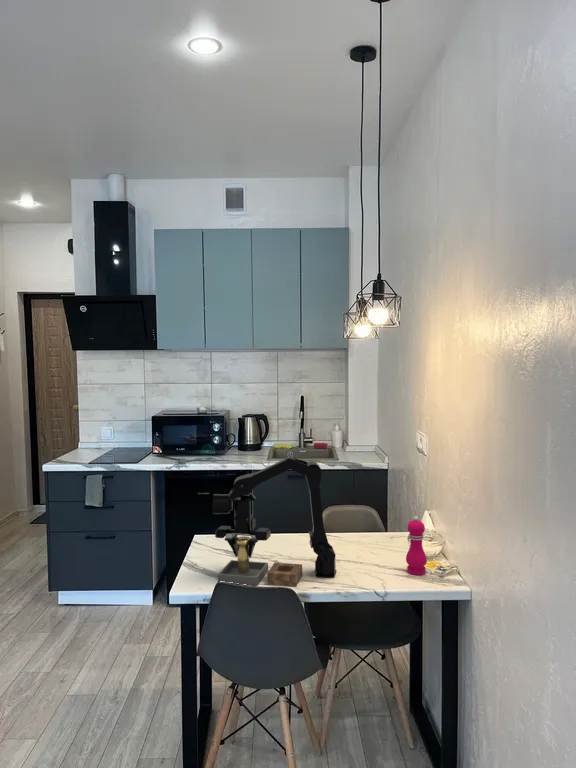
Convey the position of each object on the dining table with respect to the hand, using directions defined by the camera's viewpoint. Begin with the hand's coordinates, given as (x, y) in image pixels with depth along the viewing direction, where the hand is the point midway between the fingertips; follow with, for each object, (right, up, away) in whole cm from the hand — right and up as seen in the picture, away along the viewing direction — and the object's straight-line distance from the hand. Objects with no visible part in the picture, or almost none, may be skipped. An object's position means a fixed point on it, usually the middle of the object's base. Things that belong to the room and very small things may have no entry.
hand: (243, 557), depth 193 cm
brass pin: (0, -5, 0) cm, 5 cm away
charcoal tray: (0, -7, 0) cm, 7 cm away
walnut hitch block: (+15, -7, -3) cm, 16 cm away
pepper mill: (+61, -6, +2) cm, 61 cm away
